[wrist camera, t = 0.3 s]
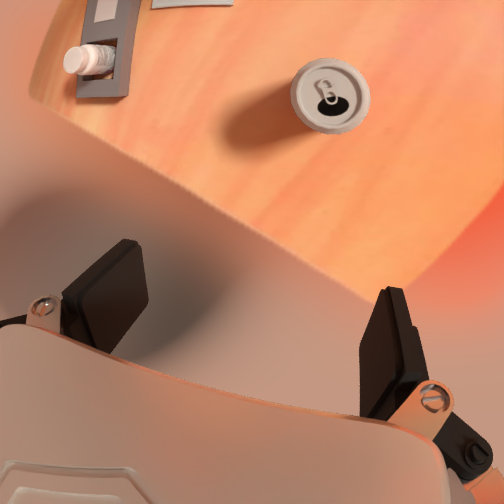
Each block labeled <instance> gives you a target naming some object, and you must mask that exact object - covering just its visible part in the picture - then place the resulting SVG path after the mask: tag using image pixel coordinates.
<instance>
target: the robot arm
mask: <svg viewBox="0 0 504 504" xmlns="http://www.w3.org/2000/svg"><path fill="white" fill-rule="evenodd" d="M62 295H63V299H62V300H61V301H60V299H59V298H58V297H57V296H54V295H45V296H41V297H39V298H37V299H36V300H34V301H33V302H32V303H31V305H30V306H29V308H28V313H27V314H26V315H22V316H18V317H14V318H10V319H6V320H2V321H0V504H504V478H503V476H502V474H501V473H500V471H499V470H498V468H497V467H496V468H494V469H493V467H492V466H491V464H492V461H493V452H492V449H491V446H490V445H489V443H488V442H487V441H486V440H485V439H484V438H482V437H481V436H480V435H479V434H478V433H477V432H476V431H474V430H473V429H472V428H471V427H470V426H469V425H467V424H466V423H465V422H464V421H463V420H461V419H460V418H459V417H458V416H457V415H456V414H454V413H453V412H452V410H453V407H454V398H453V395H452V393H451V391H450V390H449V389H448V388H447V387H446V386H445V385H444V384H442V383H440V382H438V381H434V380H429V376H428V372H427V367H426V362H425V357H424V353H423V349H422V345H421V341H420V337H419V333H418V330H417V327H415V326H412V322H411V318H410V314H409V311H408V307H407V303H406V300H405V296H404V293H403V290H402V289H401V288H396V287H390V286H387V287H386V289H385V290H384V289H382V290H381V291H380V293H379V296H378V299H377V301H376V304H375V307H374V310H373V312H372V315H371V317H370V320H369V323H368V325H367V328H366V330H365V333H364V335H363V337H362V340H361V343H360V347H359V363H360V417H359V416H353V415H346V414H338V413H331V412H325V411H319V410H312V409H307V408H301V407H295V406H290V405H284V404H279V403H274V402H268V401H264V400H260V399H255V398H251V397H246V396H242V395H238V394H234V393H230V392H226V391H222V390H218V389H214V388H210V387H207V386H203V385H199V384H196V383H192V382H189V381H186V380H183V379H179V378H176V377H173V376H170V375H166V374H163V373H160V372H157V371H154V370H151V369H148V368H146V367H142V366H140V365H137V364H134V363H131V362H129V361H126V360H123V359H120V358H118V357H115V356H113V355H110V353H111V352H112V351H113V349H114V348H115V347H116V345H117V344H118V343H119V341H120V340H121V339H122V337H123V336H124V335H125V333H126V332H127V331H128V330H129V328H130V327H131V326H132V324H133V323H134V322H135V320H136V319H137V318H138V316H139V315H140V314H141V313H142V311H143V310H144V309H145V308H146V306H147V304H148V292H147V285H146V279H145V272H144V265H143V257H142V249H141V246H140V245H138V242H137V241H134V240H129V239H123V240H121V241H120V242H119V243H118V244H116V245H115V246H114V247H113V248H112V249H110V250H109V251H108V252H107V253H105V254H104V255H103V256H102V257H101V258H100V259H98V260H97V261H96V262H95V263H94V264H93V265H92V266H90V267H89V268H88V269H87V270H86V271H85V272H84V273H82V274H81V275H80V276H79V277H78V278H77V279H76V280H75V281H74V282H72V283H71V284H70V285H69V286H68V287H67V288H66V289H65V290H64V291H63V292H62Z"/></svg>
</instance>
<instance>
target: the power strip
mask: <svg viewBox="0 0 504 504" xmlns="http://www.w3.org/2000/svg"><path fill="white" fill-rule="evenodd" d="M140 3H141V0H88V3H87V8H86V13H85V19H84V25H83V31H82V38H81V46H82V45H86V44H92V45H96V43H102V42H108V41H116V40H118V41H117V49H116V57H115V66H114V76H113V79H103V80H93V75H77V89H76V98H87V97H120V96H128V92H129V80H130V70H131V61H132V53H133V46H134V38H135V32H136V26H137V20H138V14H139V8H140ZM81 46H80V47H81Z"/></svg>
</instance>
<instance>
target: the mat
mask: <svg viewBox="0 0 504 504" xmlns="http://www.w3.org/2000/svg"><path fill="white" fill-rule="evenodd" d="M233 2H234V0H153V3H152V8H153V9H156V8H166V7H178V6H199V5H233Z"/></svg>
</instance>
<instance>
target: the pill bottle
mask: <svg viewBox="0 0 504 504" xmlns="http://www.w3.org/2000/svg"><path fill="white" fill-rule="evenodd" d="M116 49H117V48H116V47H114V46H106V45H92V44H86V45H82V46H81V47H80V46H75V47H72V48H70V49H69V50H68V51H67V53H66V54H65V56H64V60H63V66H64V69H65V71H66V72H67V73H70V74H75V73H76V74H78V75H95V74H109V73H111V72H113V71H114V66H115V57H116Z"/></svg>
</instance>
